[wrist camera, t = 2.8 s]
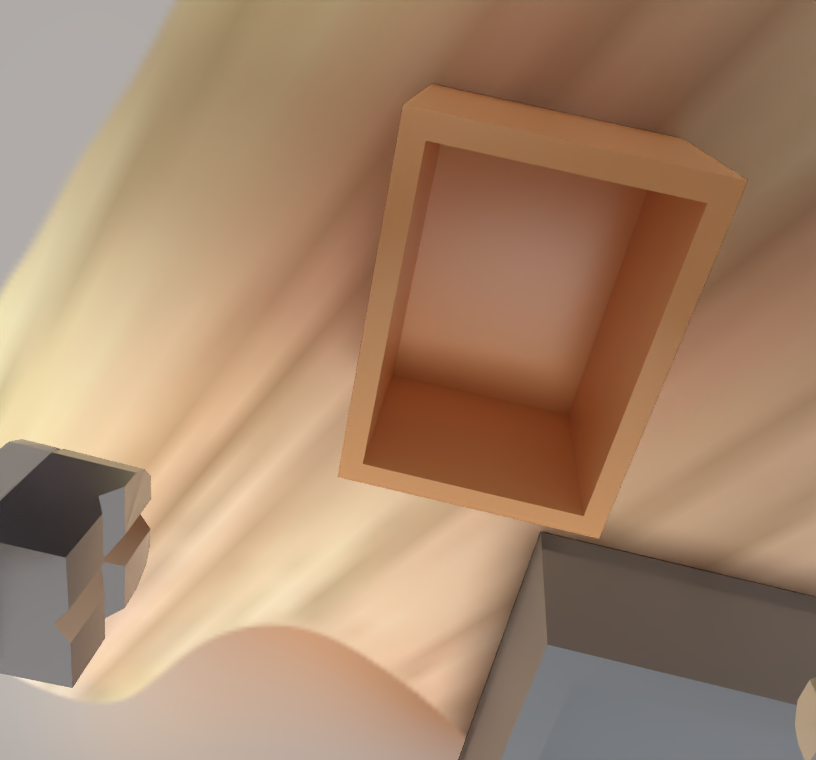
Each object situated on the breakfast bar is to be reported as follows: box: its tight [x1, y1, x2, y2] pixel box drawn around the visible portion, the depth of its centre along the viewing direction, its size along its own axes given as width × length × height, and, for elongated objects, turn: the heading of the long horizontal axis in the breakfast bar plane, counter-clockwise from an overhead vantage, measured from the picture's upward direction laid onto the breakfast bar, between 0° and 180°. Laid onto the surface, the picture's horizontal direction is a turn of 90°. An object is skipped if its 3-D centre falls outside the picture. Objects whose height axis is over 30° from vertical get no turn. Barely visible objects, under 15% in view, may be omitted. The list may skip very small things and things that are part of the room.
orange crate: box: [338, 84, 748, 539], centre depth 16 cm, size 6×8×5 cm
